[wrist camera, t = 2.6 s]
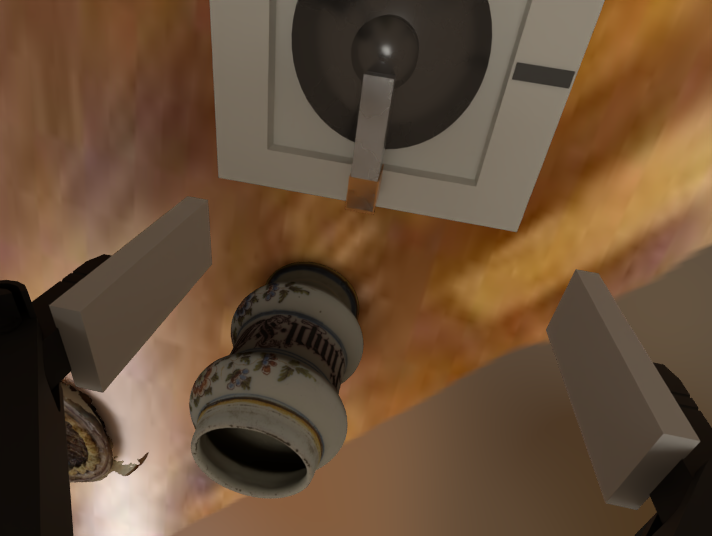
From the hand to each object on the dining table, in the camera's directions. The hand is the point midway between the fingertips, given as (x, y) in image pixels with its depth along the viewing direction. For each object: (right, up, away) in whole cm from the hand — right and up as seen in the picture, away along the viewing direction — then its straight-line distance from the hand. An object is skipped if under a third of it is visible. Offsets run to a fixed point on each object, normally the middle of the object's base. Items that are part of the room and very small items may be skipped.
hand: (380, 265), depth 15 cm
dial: (+1, +13, +14) cm, 20 cm away
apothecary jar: (-5, -4, +28) cm, 29 cm away
